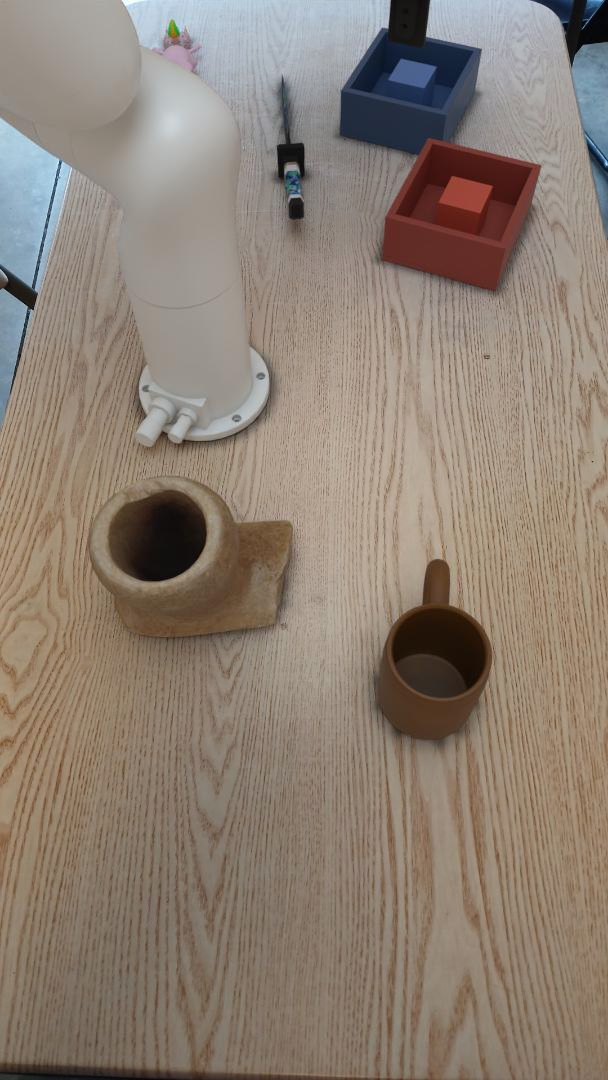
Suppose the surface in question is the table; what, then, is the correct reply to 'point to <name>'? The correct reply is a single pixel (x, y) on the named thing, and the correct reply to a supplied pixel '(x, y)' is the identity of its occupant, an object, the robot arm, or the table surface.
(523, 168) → the red bin
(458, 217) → the red block
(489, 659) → the mug
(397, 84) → the blue block
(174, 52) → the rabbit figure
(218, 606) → the stone cup
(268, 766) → the table surface
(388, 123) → the blue bin
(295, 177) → the knife
